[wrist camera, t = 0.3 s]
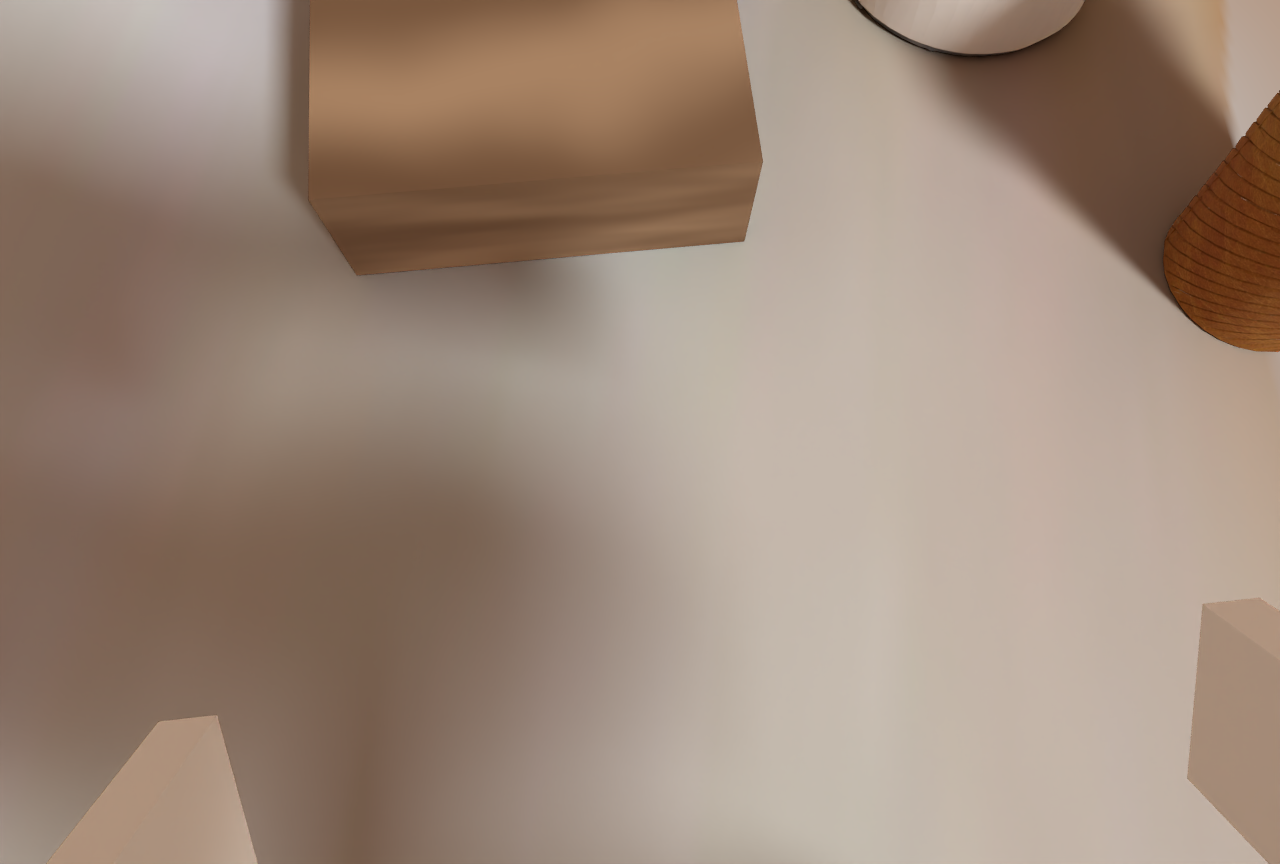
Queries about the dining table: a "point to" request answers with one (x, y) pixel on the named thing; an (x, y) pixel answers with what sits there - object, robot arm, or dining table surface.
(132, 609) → the dining table surface
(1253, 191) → the disposable coffee cup
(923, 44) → the speaker
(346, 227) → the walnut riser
